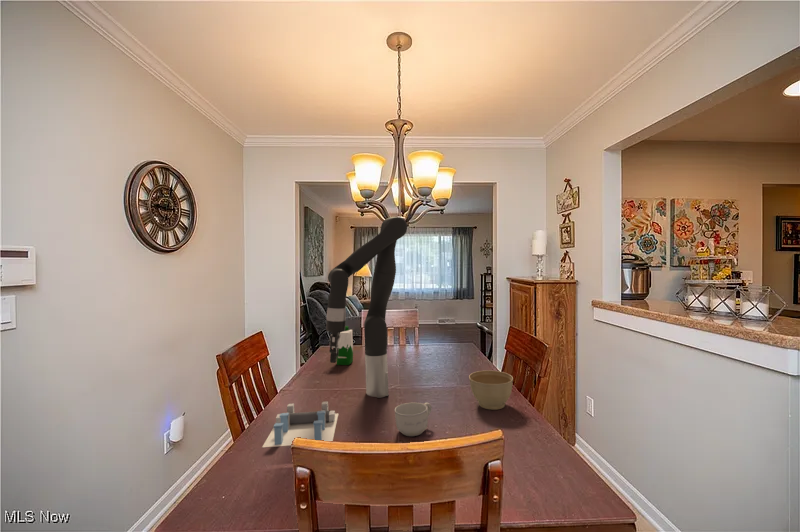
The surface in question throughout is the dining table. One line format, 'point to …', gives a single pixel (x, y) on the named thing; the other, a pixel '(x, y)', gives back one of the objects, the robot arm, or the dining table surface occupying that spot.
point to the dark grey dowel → (307, 417)
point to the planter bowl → (491, 388)
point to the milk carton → (345, 348)
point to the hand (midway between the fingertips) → (334, 359)
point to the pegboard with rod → (301, 429)
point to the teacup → (412, 418)
